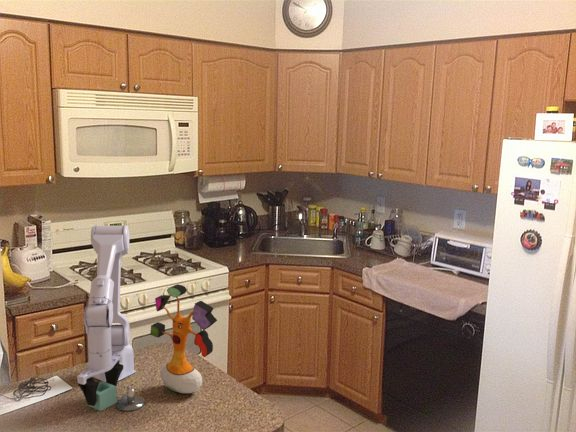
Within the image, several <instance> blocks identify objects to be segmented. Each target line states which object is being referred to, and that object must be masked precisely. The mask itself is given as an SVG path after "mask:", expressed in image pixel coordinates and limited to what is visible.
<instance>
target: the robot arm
mask: <svg viewBox="0 0 576 432" xmlns="http://www.w3.org/2000/svg"><path fill="white" fill-rule="evenodd" d="M90 243H91V246H92V247H93V251H94V252H95V253H96V254H97V259H96V262H97V264H96V276H95V278H93V279H92V280H91V282H90V283H91V284H90V290H89V298H88V306H85V307H84V310H83V311H84V312H83V325H84V328H85V334H86V335H87V352H88V355H87V356H88V358H87V359H88V362H86V364H85V365H86V367H85V368H84V369H83V370H82V371H81V372H80V374H78V375H77V376H76V378H77V379H76V384H77V386H78V387H79V388H80V390H81V391H82V393H83V396H84V398H85V400H86V401H87V404H88V405H91V406H94V405H95V404H96V392H97V387H98V385H99V381H100V382H101V381H104V382H107V383H109V384H112V385H114V386H116V387H117V386H118V382H119V381H121V380H123V379H126V378H127V377H129V376H131V375H133V374H136V372H137V371H136V370H135V360H134V359H135V358H134V354H135V353H134V349H133V346H132V344H130V340H131V329H130V320H129V318H128V317H127V316H125V315H124V314H123V313H121V312H120V311H121V307H120V306H121V278H122V277H121V273H122V272H121V271H122V269H121V268H122V267H121V265H122V260H123V256H126V255H127V254H129V250H130V228H129V227H128V225H127V224H125V225H96V224H94V225H93V226H92V227H91V231H90ZM95 379H96V380H99V381H96V380H95ZM86 401H85V402H86ZM88 405H87V406H88Z"/></svg>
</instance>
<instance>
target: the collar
mask: <svg viewBox="0 0 576 432" xmlns="http://www.w3.org/2000/svg"><path fill="white" fill-rule="evenodd" d="M98 382H99V381H98ZM117 394H118V393H117V386H114V385H112V384H109V383H107V382H104V381H101V380H100V382H99V385H98V387H97V392H96V404H95V405H94V406H91V405H88V404H87V401H85V403H86V406H88V407H91V408H93V409H95V410H98V411H99V412H101V411H103V410H106V409H107V408H109V407H111V406H113V405H114V404H117V402H118V396H117Z"/></svg>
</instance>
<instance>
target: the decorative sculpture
mask: <svg viewBox="0 0 576 432" xmlns="http://www.w3.org/2000/svg"><path fill="white" fill-rule="evenodd" d="M187 289H188V288H186V286H184V285H182V284H174V285H173V286H169V287H168V288H167V289H166V292H167V293H168V295H167V294H162V295H159V296H157V297H154V298H155V309H156V312H160V311H162V310H164V309H165V311H166V313H167V317H169V318H170V320H171V321H172V333H169V332H166V325H165V324H164V323H161V322H158V321H157V322H155V323H153V324H151V325H150V333H149V335H151V336H153V337H154V338H161V337H162V336H164V335H167V336H169V337H170V339H171V341H172V344H173V353H172V357H171V360H170V361H169V362H167V363H165V364H163V365H162V367H161V369H160V378H161V380H162V383H163V384H164V385H165V387H167V388H168V389H170V390H171V391H174V392H176V393H179V394H192V393H193V394H194V393H195V392H197V391H198V390H200V388H201V386H202V384H203V377H202V375H201V373H200V371H198V370H197V369H196V368H195V367H194V366H192V365H191V364H190V362H189V361H188V360H187V358H186V353H185V349H186V346H187V339H188V336H189V334H192V335H194V343H193V344H194V345H195V346H197V347H198V348H199V349H200V353H201V357H204V358H205V357H208V356H209V355H211V353H212V352H213V351H214V344H213V342H212V340H211V339H210V338H209V334H208V332H207V331H206V329H207V330H208V328H210V327H211V326H212V325H214V324H215V323H216V322H217V321H218V319H217V318H216V317H215V316H214V315H213V313H212V312H213V310H214V309H215V308H214V307H213V306H211V305H209V304H207V303H206V302H204V301H203V300H199V301H197V302H195V303H194V306H193V311H191V312H190V313H189V314H188V315H187V316H186V317H185V316H183V315H182V314H181V313H180V299H179V298H178V297H180V296H183V295H185V294H186V293H187ZM171 297H173V298H176V300H177V304H176V305H177V307H176V310H177V312H176V315H175V316H174V317H173V316H172V315H171V313H170V312H169V310H168V309H167V308H166V305H167V303H168V301H169V299H170V298H171ZM191 319H192V320H193V321H194V322H195V324H197V326H199V328H200V329H202V330H201V331H199V332H195V331H193V329H192V327H191V324H192V323H191V322H192V321H191Z"/></svg>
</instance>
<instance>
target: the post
mask: <svg viewBox="0 0 576 432" xmlns="http://www.w3.org/2000/svg"><path fill="white" fill-rule="evenodd" d="M145 403H146V402H145V398H143V397H142V396H139V395H135V387H134V386H129V387H127V388H126V396H124V397H122V398H120V399H119V400H117V403H116V408H117V409H118V410H120V411H121V412H127V413H128V412H135V411H139V410H141V409H142V408H143V407H144V406H145Z"/></svg>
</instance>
